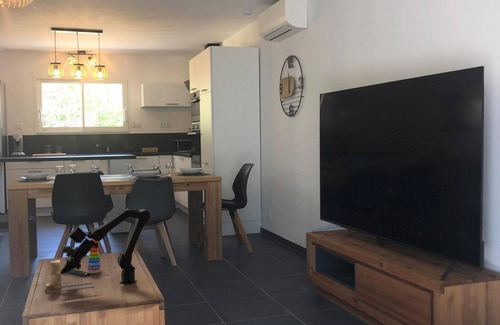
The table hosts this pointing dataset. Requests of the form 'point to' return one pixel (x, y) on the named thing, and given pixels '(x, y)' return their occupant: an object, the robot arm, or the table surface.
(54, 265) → the stepped wooden block
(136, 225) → the robot arm
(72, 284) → the track
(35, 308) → the table surface
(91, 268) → the stacking toy
